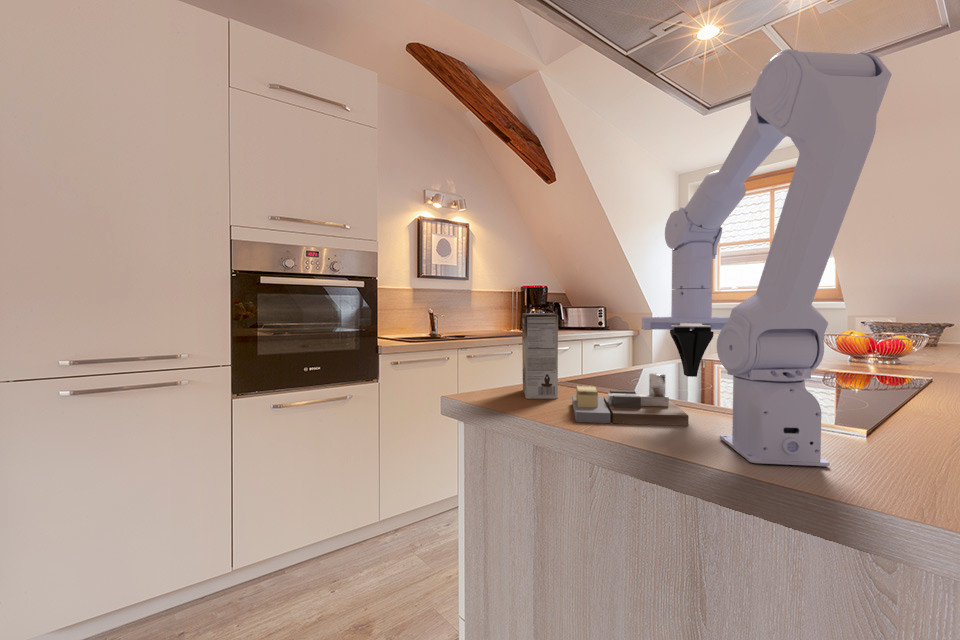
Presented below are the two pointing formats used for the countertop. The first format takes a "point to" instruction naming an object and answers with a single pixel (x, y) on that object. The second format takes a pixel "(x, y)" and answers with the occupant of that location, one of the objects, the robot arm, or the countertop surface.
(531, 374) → the coffee box
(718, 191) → the robot arm
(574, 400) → the jamb keeper
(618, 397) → the door panel
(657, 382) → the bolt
